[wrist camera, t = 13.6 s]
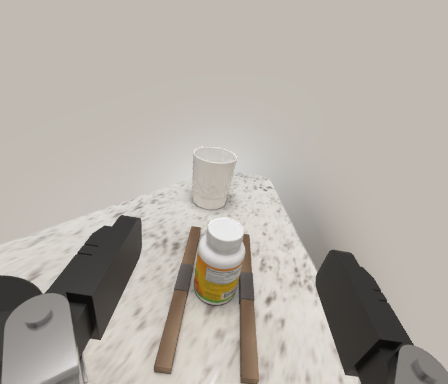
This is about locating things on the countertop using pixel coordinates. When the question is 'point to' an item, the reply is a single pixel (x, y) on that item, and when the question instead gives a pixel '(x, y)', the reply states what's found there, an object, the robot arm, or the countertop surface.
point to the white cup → (212, 176)
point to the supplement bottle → (219, 261)
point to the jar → (15, 292)
